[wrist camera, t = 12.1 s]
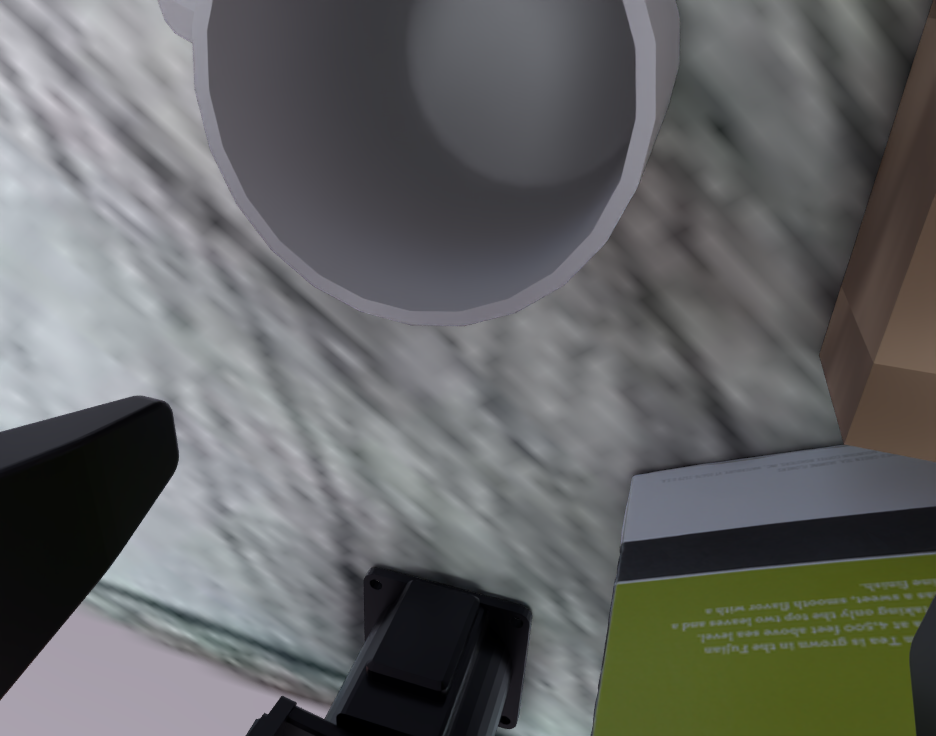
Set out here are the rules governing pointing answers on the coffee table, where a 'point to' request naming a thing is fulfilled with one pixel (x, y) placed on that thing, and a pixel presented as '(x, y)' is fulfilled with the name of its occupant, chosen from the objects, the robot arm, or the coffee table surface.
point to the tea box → (770, 597)
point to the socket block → (893, 288)
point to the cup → (432, 138)
